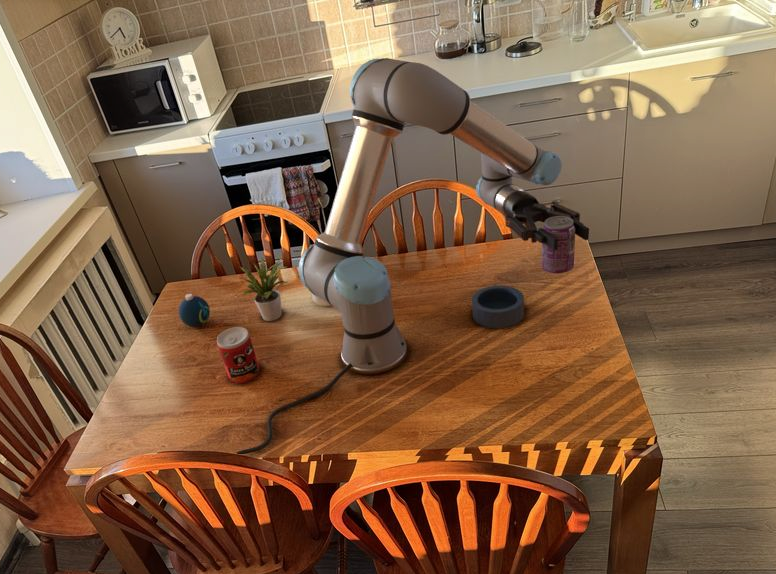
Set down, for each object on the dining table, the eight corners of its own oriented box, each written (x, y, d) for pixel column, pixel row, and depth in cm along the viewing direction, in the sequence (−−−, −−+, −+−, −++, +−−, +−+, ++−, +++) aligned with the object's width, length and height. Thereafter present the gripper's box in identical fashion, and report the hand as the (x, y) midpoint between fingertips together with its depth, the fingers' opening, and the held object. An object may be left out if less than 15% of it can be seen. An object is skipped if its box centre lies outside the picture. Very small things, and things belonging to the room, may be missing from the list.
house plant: (308, 320, 169) (295, 265, 160) (259, 338, 166) (243, 283, 157) (290, 297, 180) (278, 244, 171) (244, 314, 178) (228, 261, 168)
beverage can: (567, 258, 155) (569, 212, 148) (578, 272, 149) (580, 225, 142) (537, 264, 156) (538, 218, 149) (547, 278, 150) (547, 231, 143)
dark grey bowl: (500, 334, 149) (500, 318, 146) (462, 316, 157) (461, 301, 155) (534, 311, 154) (534, 295, 151) (495, 295, 162) (495, 280, 160)
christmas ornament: (192, 336, 173) (180, 305, 167) (178, 325, 179) (167, 295, 173) (219, 322, 176) (208, 291, 170) (205, 312, 182) (194, 281, 177)
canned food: (231, 387, 151) (218, 350, 145) (226, 369, 158) (214, 332, 151) (262, 378, 152) (251, 340, 146) (256, 359, 159) (245, 322, 152)
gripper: (552, 207, 165) (610, 241, 146) (481, 230, 162) (530, 267, 144) (553, 179, 161) (612, 211, 142) (479, 202, 158) (530, 237, 139)
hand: (571, 239), depth 143 cm, fingers closed on beverage can, 7 cm apart
